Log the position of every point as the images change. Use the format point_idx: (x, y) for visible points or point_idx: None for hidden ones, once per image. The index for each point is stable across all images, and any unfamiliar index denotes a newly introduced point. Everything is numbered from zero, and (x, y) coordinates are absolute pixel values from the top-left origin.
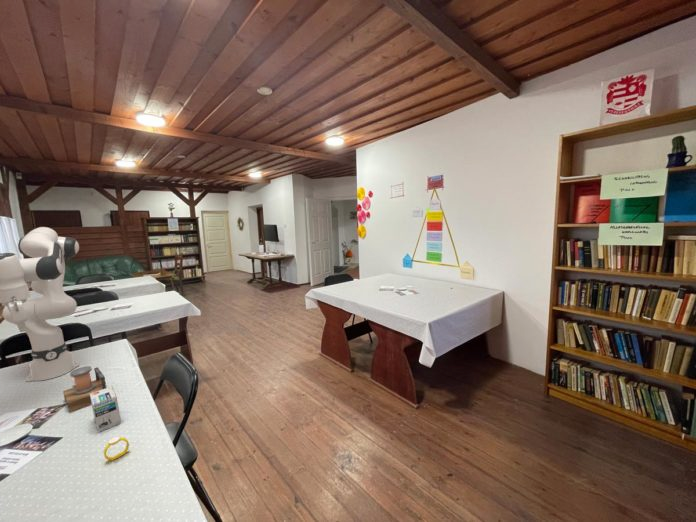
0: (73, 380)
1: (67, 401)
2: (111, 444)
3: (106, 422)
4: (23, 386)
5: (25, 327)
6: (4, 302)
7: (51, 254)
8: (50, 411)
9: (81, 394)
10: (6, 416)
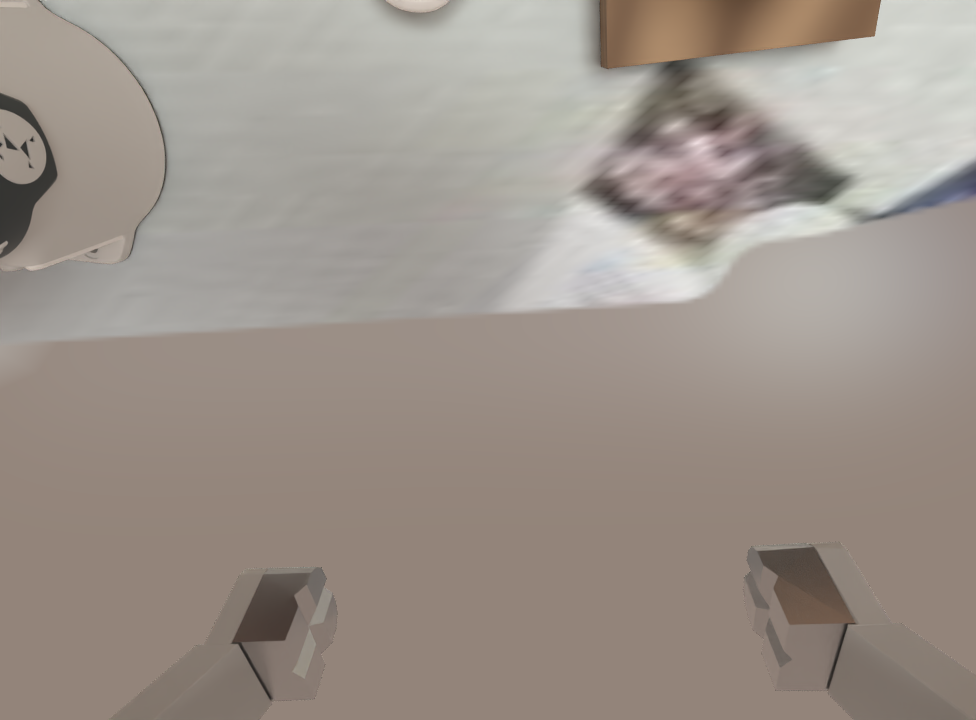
0: (444, 2)
1: (830, 40)
2: None
3: None
4: (186, 268)
5: (875, 604)
6: None
7: None
8: (694, 136)
9: None
10: (545, 306)
